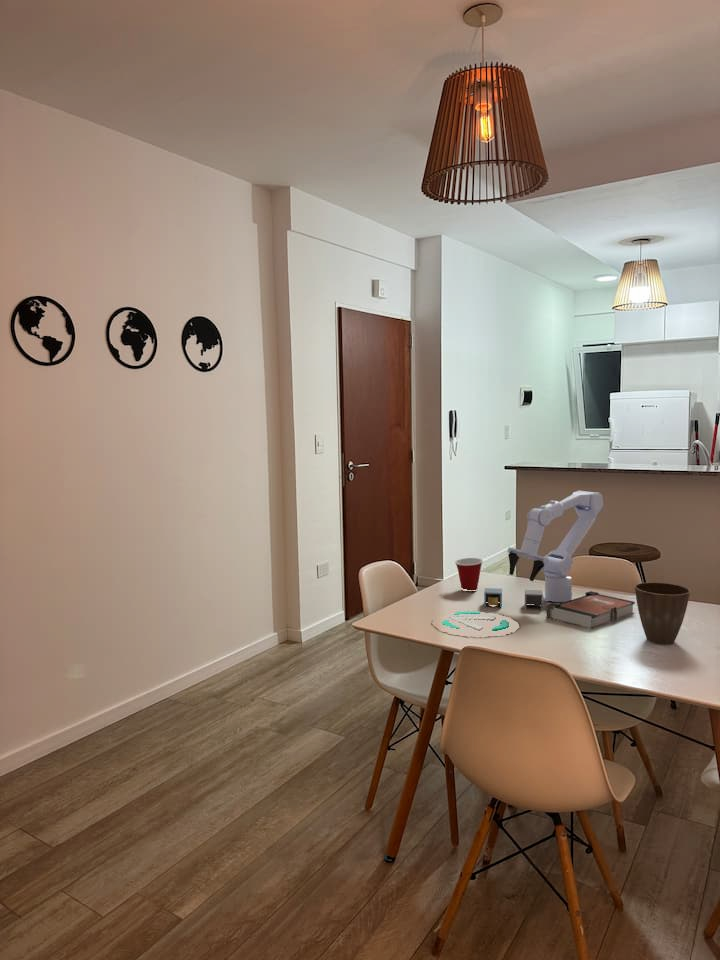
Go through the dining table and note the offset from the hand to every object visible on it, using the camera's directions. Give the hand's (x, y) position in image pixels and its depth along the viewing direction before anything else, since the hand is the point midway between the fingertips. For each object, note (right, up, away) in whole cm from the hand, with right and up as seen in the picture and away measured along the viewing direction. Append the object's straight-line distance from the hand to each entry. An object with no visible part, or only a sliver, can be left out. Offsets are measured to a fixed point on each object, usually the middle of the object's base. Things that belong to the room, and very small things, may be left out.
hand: (520, 577), depth 239 cm
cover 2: (+4, -10, -1) cm, 11 cm away
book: (+21, -12, -11) cm, 27 cm away
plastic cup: (-15, -9, +24) cm, 30 cm away
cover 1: (-9, -10, +3) cm, 14 cm away
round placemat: (-19, -13, -19) cm, 30 cm away
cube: (-9, -10, +3) cm, 14 cm away
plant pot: (+33, -14, -38) cm, 52 cm away
